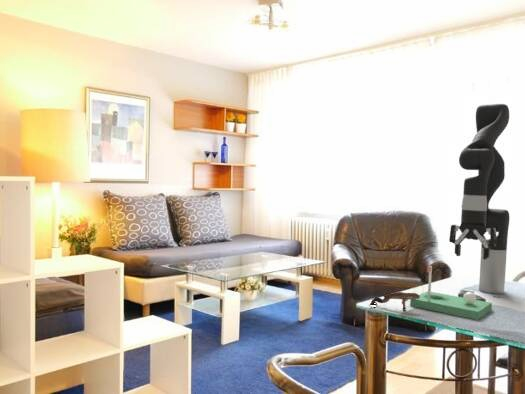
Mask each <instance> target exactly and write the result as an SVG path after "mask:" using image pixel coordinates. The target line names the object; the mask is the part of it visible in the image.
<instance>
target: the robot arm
mask: <svg viewBox="0 0 525 394" xmlns="http://www.w3.org/2000/svg"><path fill="white" fill-rule="evenodd" d="M509 122H510V109H509V106H508V105H507V104H505V103H494V104H493V103H491V104H481V105H478V106H477V108H476V111H475V126H476V127H475V128H476V134H475V135H474V136H473V139H472V142H470V143H469V144H468V145H466V146H465V147H464V149H463V150H462V151H461V153H460V154H459V157H458V163H459V166H460V167H461V168H462V169H464V170H465V171H478V173H477V174H478V175H475V176H470V177H466V178H465V179H464V181H463V197H462V200H461V201H462V202H461V219H460V220H461V221H460V225H457V224H451V225H450V231H449V241H448V242H450V243H452V244H454V254H455V256H456V257H460V256H461V250H462V244H461V243H462V242H463V241H464V240H465V239H467V240H474V241H479V242H480V243H481V246H480V247H481V248H480V264H479V265H480V267H479V279H478V280H479V283H478V290H479V291H480V292H484V293H489V294H504V293H505V287H506V286H505V284H506V271H507V270H506V269H507V268H506V267H507V250H508V238H509V237H508V235H509V234H508V233H509V225H510V212H509V211H508V210H507V209H502V208H501V209H500V208H490V207H489V206H490V205H489V204H490V201H491V199H492V197H493V196H494V195H495V193H496V191H497V190H498V189H499V188H500V187H501V185H502V184H503V183H504V179H505V177H506V175H505V174H506V173H505V169H506V168H505V161H504V159H503V157H502V155H501V154H500V152H499V150H498V149H496V147H495V145H496V141H497V140H498V138H500V136H501V135H502V133H504V131H505V129H506V128H507V126H508V124H509ZM458 231H459V232H461V234H460V235H459V236H458V238H457V237H456V235H457V232H458ZM486 233H488V235H489V236H490V238H488V239H487V238H486V236H485V234H486ZM497 233H498V234H497Z"/></svg>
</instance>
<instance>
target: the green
mask: <svg viewBox="0 0 525 394" xmlns="http://www.w3.org/2000/svg"><path fill="white" fill-rule="evenodd" d="M418 295H419V296H420V298H419V299H410V303H409V306H410V307H414V308H415V307H416V308H420V309H426V310H430V311H434V312H440V313H444V314H450V315H453V316H459V317H462V318H463V317H464V318H469V319H473V320H479V319H481V318H482V317H484V316H485V315H487V314H488V313H490V312H491V311H492V310H493V309H492V308H493V304H492V302H489V301H486V302H485V301H479V300H476V301H475V303H473V304H467V303H465V301H464V300H463V297H458V295H457V296H456V295H450V294H445V293H439V292H434V291H431V295H430V302H429V301H428V290H427V291H425V292H423V293H419V294H418Z"/></svg>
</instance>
